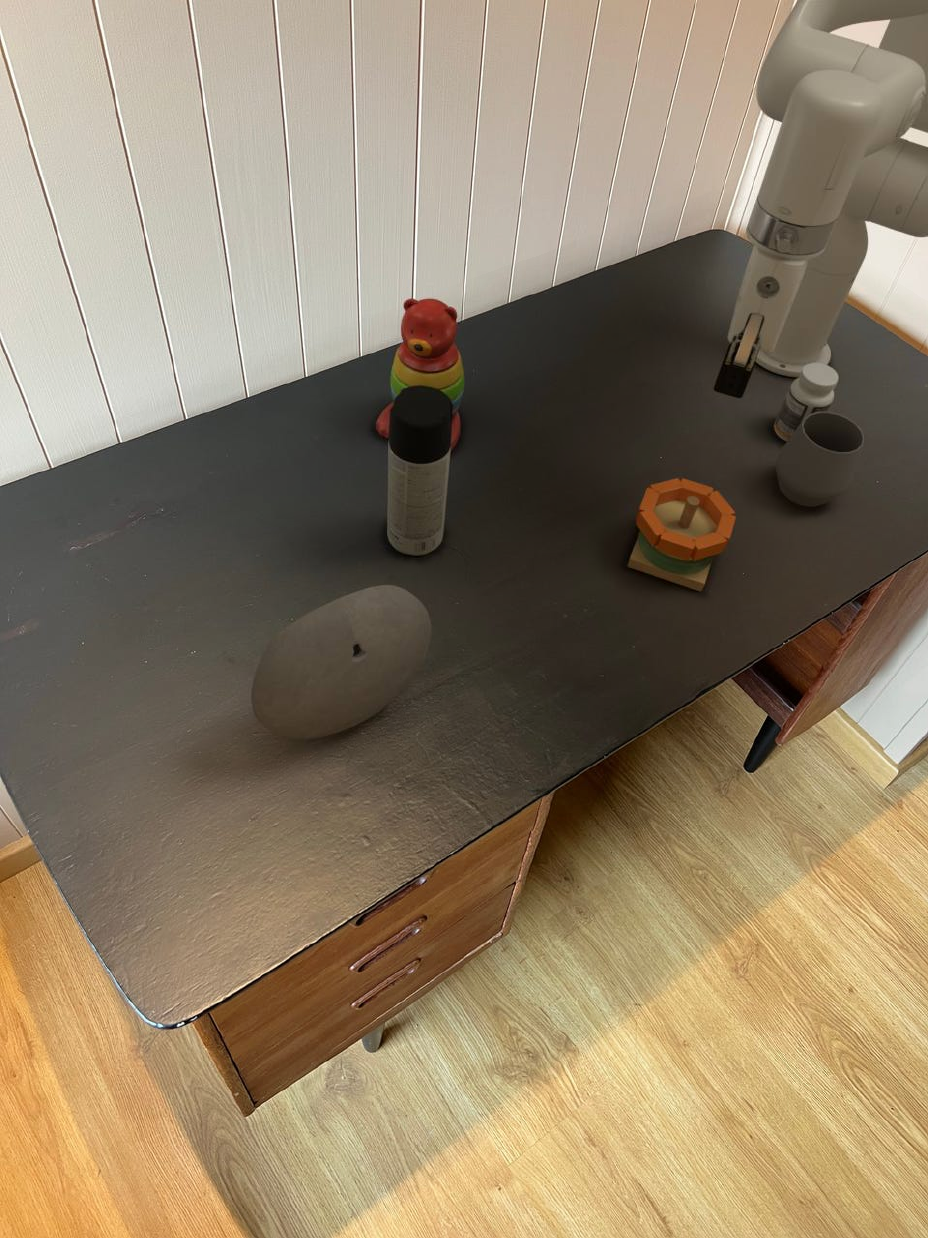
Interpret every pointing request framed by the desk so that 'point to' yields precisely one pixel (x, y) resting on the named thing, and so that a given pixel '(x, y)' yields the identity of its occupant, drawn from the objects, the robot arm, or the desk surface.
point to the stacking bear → (427, 357)
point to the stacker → (651, 561)
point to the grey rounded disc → (341, 663)
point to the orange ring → (677, 542)
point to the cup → (819, 459)
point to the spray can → (418, 468)
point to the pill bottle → (806, 397)
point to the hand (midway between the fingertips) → (732, 380)
